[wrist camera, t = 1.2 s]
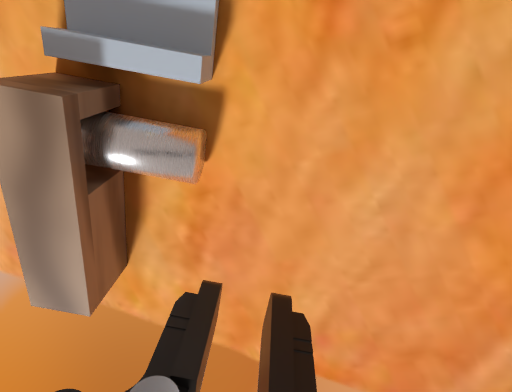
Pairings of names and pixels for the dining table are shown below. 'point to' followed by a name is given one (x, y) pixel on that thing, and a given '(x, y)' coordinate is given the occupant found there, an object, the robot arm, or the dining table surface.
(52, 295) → the beam
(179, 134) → the axle
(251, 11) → the dining table surface
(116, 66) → the cradle
